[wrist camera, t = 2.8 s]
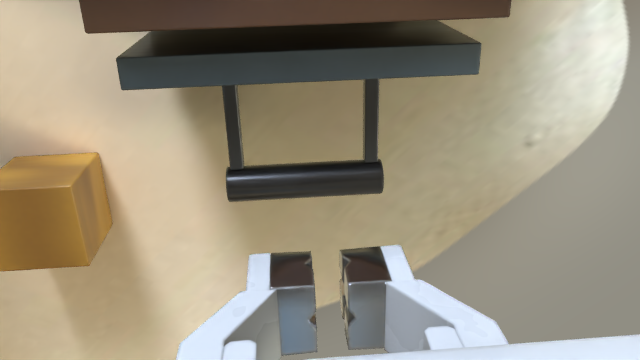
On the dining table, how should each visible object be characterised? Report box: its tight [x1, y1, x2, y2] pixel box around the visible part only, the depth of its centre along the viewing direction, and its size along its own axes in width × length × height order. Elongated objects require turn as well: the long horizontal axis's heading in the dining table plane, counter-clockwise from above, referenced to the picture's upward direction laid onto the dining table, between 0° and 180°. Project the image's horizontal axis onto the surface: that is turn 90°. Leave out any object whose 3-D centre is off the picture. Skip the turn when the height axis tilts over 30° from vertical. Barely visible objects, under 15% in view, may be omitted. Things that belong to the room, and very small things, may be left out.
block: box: [0, 153, 113, 271], centre depth 28 cm, size 4×4×4 cm
